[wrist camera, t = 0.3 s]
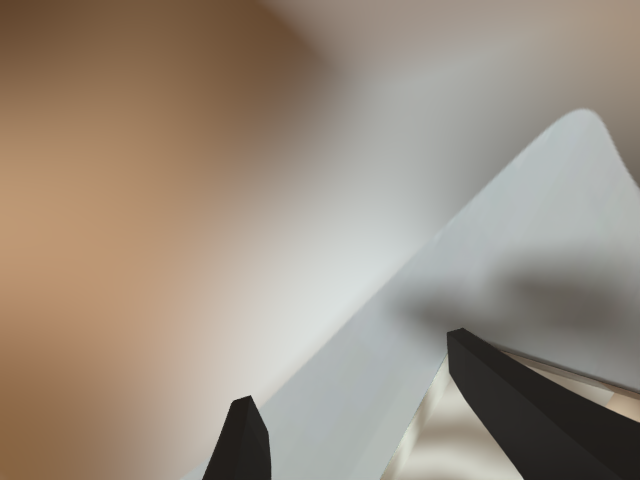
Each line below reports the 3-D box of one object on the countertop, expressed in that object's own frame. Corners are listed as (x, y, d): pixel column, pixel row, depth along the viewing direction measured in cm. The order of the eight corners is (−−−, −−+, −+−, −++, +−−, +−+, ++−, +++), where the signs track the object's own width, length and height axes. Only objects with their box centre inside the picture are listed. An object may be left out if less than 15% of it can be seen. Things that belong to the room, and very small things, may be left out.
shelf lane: (581, 521, 33) (628, 575, 28) (375, 489, 27) (394, 552, 22) (666, 402, 30) (732, 442, 26) (456, 336, 24) (497, 375, 19)
